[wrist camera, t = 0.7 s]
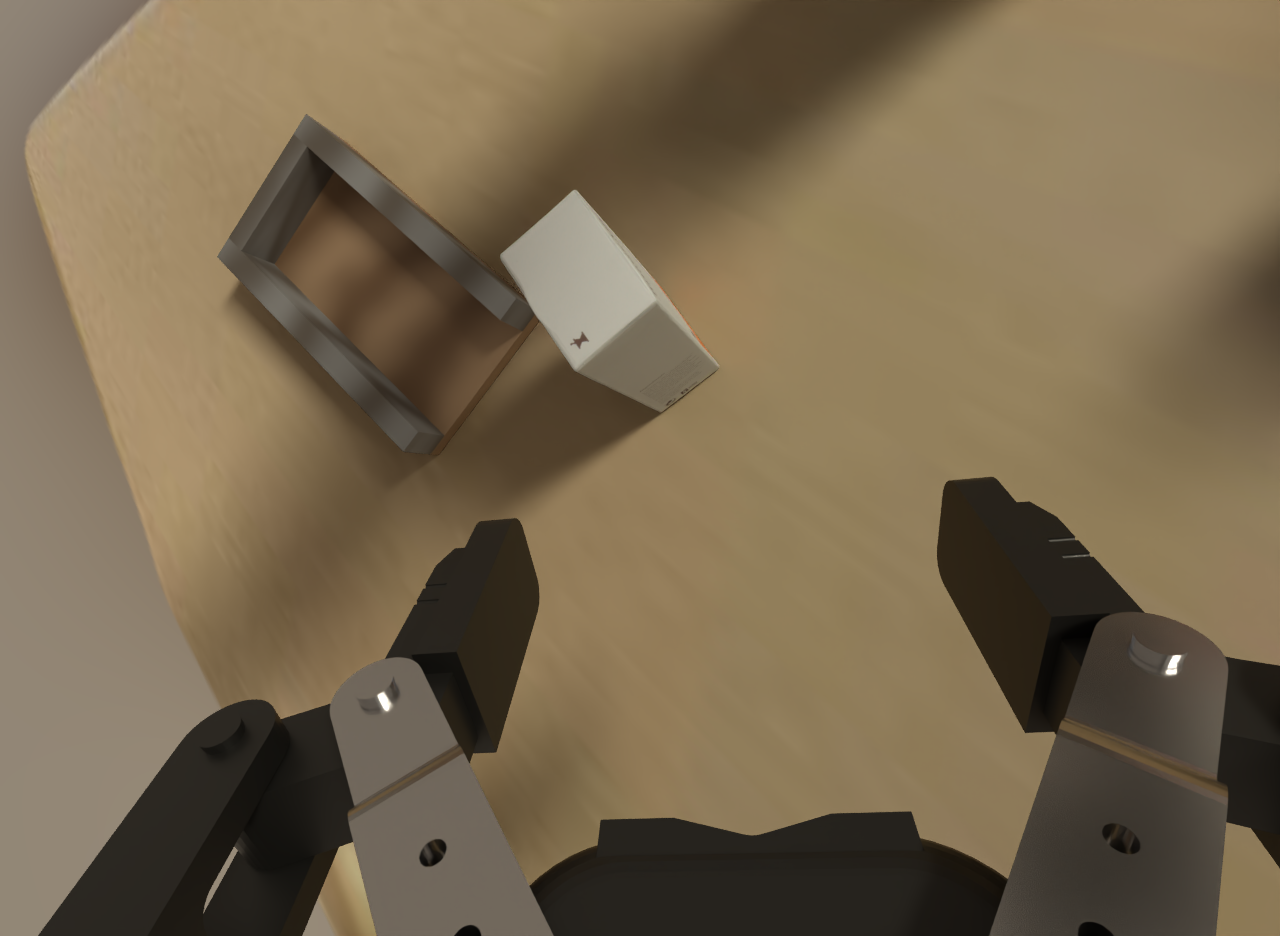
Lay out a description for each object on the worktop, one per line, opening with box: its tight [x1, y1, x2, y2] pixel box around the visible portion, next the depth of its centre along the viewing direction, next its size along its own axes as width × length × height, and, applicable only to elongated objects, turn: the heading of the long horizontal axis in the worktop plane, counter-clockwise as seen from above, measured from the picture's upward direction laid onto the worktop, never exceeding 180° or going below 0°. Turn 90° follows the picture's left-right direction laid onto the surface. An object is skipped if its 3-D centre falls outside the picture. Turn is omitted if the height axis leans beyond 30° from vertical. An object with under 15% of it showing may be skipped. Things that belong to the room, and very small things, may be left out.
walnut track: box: [217, 114, 539, 455], centre depth 39 cm, size 20×11×3 cm, turn 49°
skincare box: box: [500, 190, 719, 412], centre depth 29 cm, size 6×4×12 cm
